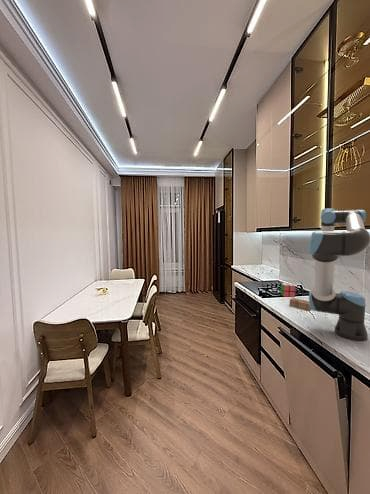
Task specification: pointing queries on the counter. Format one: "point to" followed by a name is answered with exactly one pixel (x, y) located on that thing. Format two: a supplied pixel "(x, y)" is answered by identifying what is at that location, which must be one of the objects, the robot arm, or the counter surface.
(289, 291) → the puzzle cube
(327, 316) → the counter surface
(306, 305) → the walnut block
